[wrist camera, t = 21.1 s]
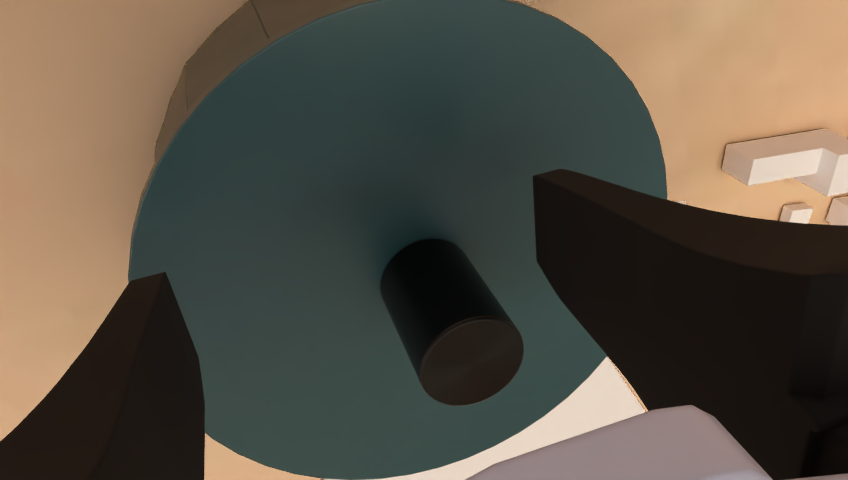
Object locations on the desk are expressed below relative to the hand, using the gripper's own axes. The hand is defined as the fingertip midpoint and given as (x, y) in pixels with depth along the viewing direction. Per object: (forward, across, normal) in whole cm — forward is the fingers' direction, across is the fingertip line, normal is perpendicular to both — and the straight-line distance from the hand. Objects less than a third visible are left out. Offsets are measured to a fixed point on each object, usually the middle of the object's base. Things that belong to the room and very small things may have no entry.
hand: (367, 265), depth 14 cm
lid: (+4, -2, +3) cm, 5 cm away
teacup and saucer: (+10, -4, +24) cm, 27 cm away
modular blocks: (+10, -25, +9) cm, 28 cm away
